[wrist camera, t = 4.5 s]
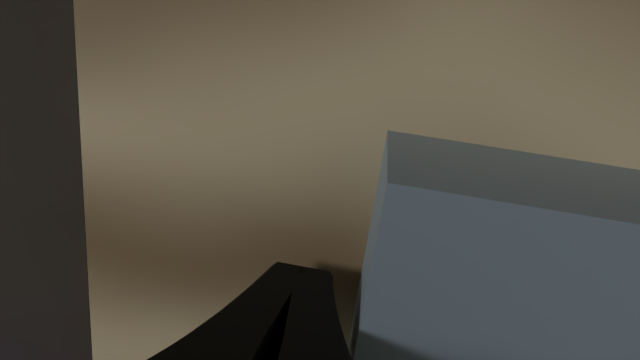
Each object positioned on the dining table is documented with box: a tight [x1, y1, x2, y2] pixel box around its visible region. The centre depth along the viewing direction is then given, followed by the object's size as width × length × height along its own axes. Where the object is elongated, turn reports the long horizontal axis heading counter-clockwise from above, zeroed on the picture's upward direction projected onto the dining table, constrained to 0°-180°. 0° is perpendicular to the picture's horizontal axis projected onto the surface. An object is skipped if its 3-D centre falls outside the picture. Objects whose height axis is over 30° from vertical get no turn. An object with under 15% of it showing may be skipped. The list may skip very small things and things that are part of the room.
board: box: [73, 0, 640, 360], centre depth 11 cm, size 18×22×1 cm
